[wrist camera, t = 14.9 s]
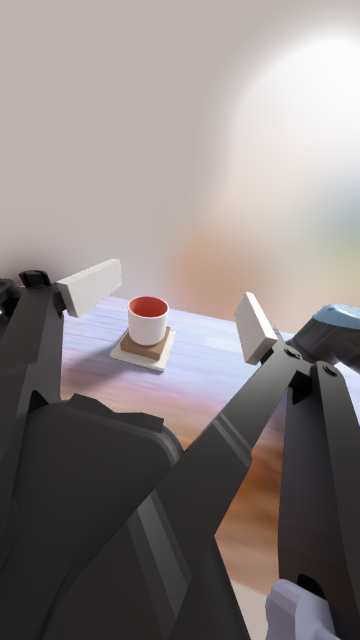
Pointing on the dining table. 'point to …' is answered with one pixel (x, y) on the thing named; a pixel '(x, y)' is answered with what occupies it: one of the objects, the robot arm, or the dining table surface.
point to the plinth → (142, 359)
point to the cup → (147, 319)
